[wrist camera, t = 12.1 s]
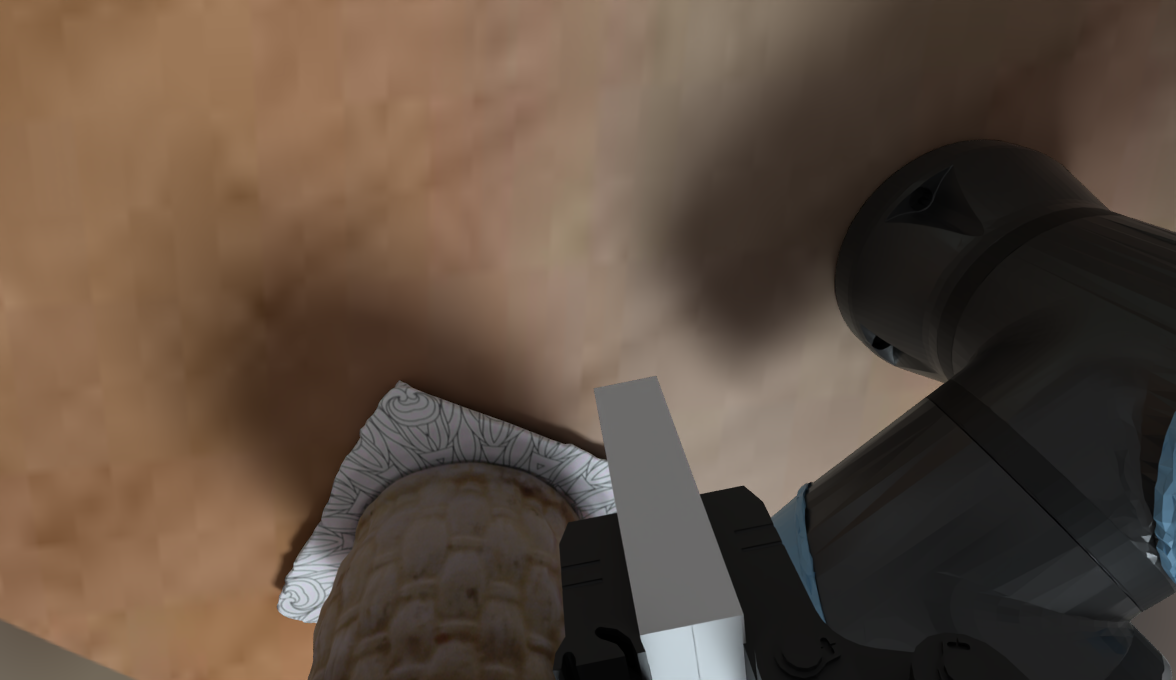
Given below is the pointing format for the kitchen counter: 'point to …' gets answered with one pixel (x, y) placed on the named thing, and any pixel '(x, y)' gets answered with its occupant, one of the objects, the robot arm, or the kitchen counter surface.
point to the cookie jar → (443, 547)
